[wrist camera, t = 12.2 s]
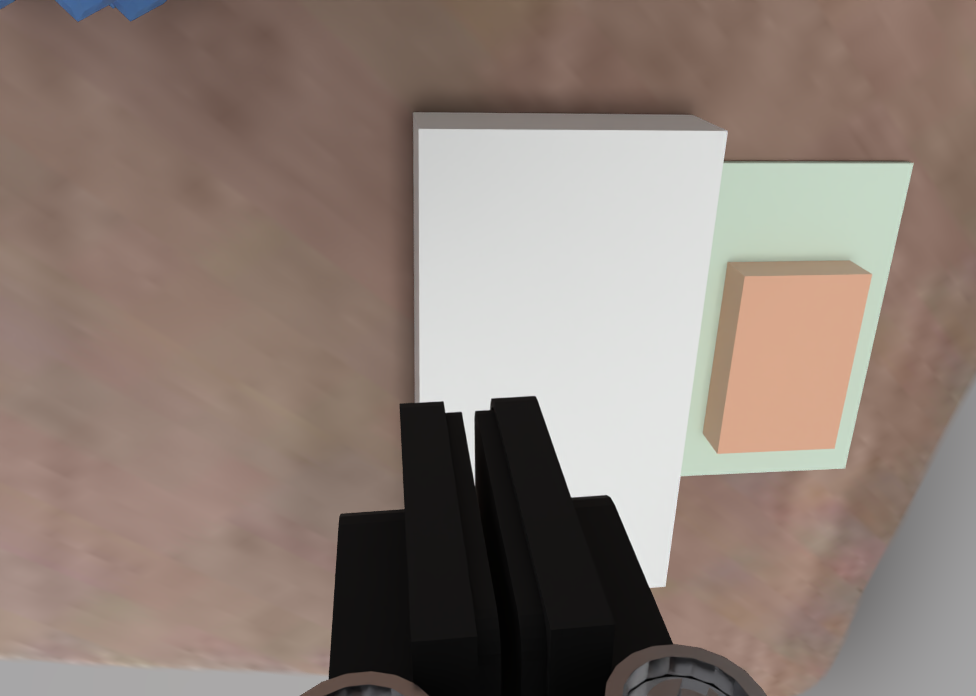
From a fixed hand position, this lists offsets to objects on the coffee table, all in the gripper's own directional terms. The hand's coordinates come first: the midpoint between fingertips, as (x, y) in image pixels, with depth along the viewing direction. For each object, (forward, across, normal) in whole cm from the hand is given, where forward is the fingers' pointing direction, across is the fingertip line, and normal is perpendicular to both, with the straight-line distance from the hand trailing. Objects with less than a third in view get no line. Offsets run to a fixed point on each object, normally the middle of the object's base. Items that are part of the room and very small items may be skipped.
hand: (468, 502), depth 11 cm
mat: (+28, -18, +11) cm, 35 cm away
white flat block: (+28, -6, +11) cm, 30 cm away
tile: (+25, -17, +12) cm, 33 cm away
